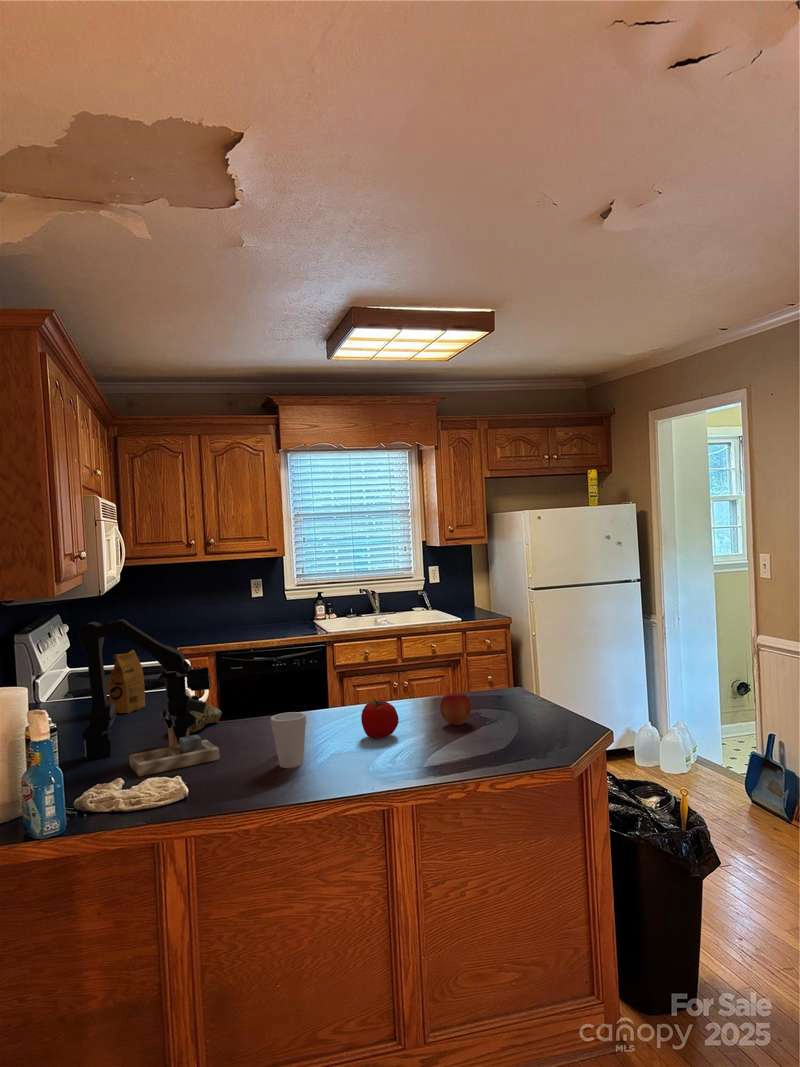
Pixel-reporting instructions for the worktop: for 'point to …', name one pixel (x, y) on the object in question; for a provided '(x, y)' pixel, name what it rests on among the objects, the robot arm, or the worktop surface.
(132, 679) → the coffee package
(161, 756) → the puzzle frame
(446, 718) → the apple
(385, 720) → the red fruit
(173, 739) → the block
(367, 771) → the worktop surface
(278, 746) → the foam cup
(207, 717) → the speckled rock
